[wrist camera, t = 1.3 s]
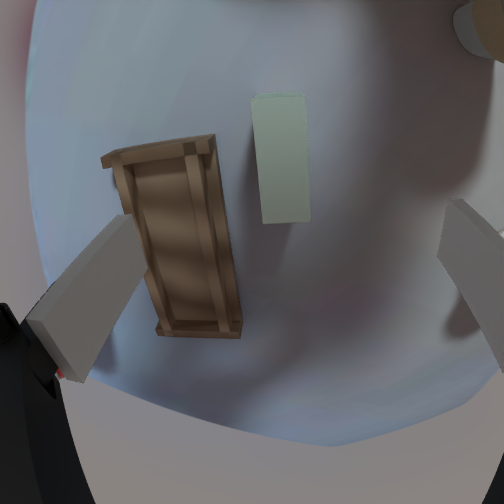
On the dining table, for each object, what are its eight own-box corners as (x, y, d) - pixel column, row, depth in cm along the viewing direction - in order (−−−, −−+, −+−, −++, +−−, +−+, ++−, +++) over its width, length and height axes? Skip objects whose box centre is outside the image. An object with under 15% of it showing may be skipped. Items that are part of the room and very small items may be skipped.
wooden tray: (114, 149, 30) (100, 157, 27) (214, 133, 28) (207, 140, 26) (164, 320, 42) (157, 335, 40) (243, 322, 41) (240, 338, 38)
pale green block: (259, 93, 26) (249, 99, 18) (298, 91, 25) (305, 96, 18) (268, 183, 30) (262, 223, 23) (303, 182, 30) (310, 222, 22)
